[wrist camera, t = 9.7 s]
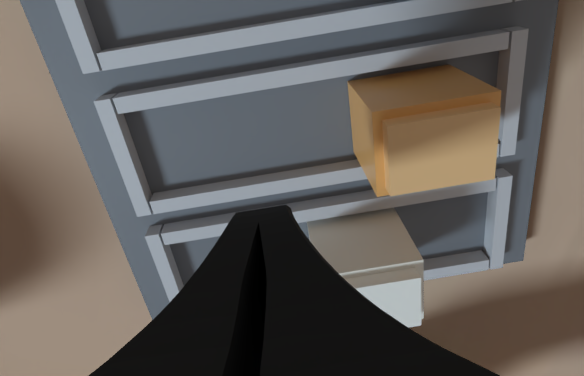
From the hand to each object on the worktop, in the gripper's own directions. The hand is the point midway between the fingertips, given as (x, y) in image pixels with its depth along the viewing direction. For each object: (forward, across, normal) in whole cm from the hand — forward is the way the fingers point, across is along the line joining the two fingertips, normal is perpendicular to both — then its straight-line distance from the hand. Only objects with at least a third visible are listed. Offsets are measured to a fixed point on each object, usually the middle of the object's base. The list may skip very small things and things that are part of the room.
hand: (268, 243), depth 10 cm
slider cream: (+8, -3, +6) cm, 10 cm away
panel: (+9, -2, 0) cm, 9 cm away
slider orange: (+8, -6, 0) cm, 10 cm away
